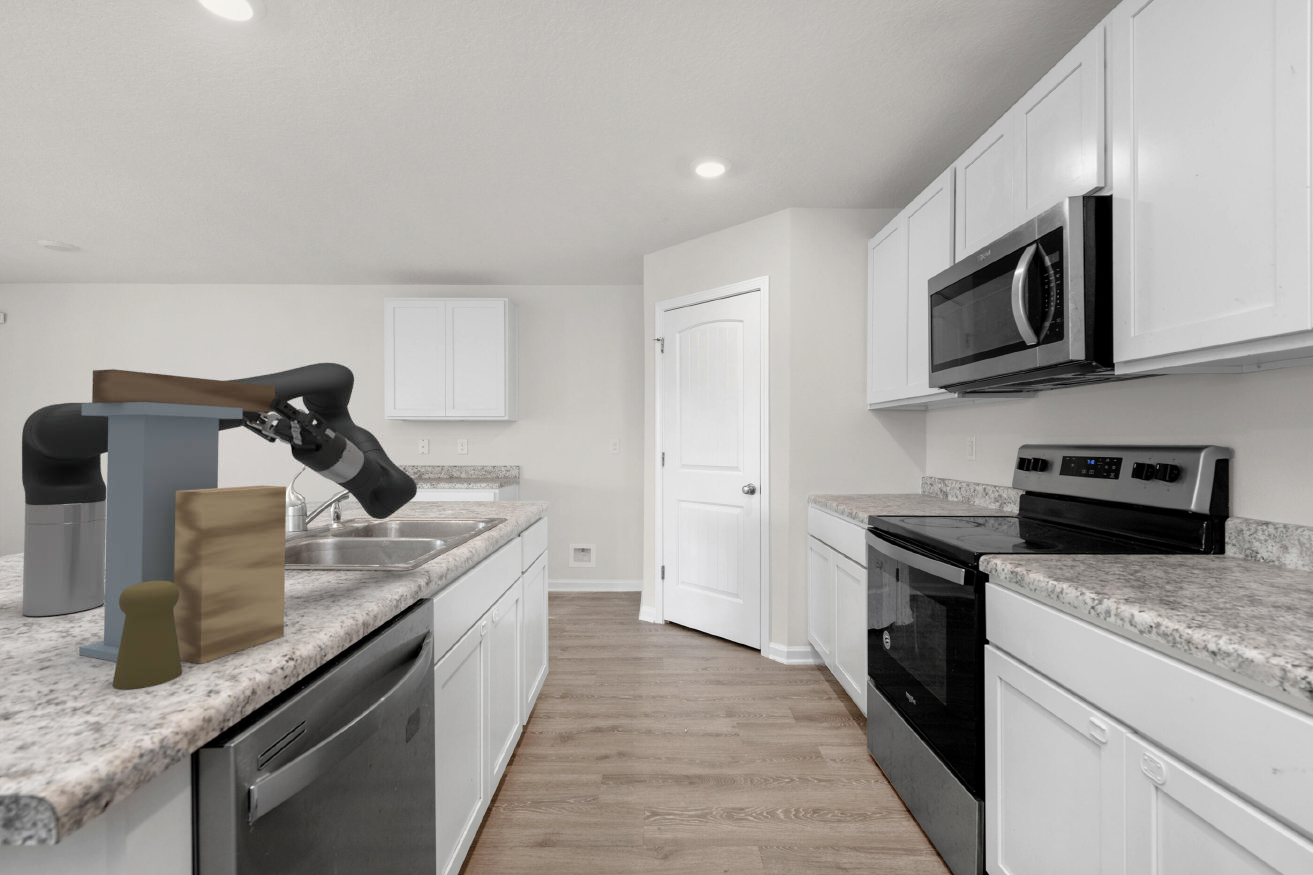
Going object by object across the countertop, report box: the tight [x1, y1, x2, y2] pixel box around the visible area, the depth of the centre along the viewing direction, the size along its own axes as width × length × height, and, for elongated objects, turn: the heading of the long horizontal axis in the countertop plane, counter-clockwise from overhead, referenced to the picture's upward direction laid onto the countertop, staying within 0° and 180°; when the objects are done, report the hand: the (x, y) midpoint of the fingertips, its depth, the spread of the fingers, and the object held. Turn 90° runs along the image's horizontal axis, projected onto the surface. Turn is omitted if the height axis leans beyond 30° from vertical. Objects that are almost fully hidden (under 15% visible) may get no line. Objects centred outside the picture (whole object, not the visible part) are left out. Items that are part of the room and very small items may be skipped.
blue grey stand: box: [78, 402, 243, 663], centre depth 78 cm, size 12×12×32 cm
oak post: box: [174, 485, 287, 665], centre depth 77 cm, size 5×11×21 cm, turn 162°
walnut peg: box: [91, 368, 275, 413], centre depth 81 cm, size 4×21×4 cm, turn 162°
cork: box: [112, 581, 183, 691], centre depth 67 cm, size 6×6×11 cm
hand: (253, 402), depth 89 cm, fingers open, 8 cm apart
